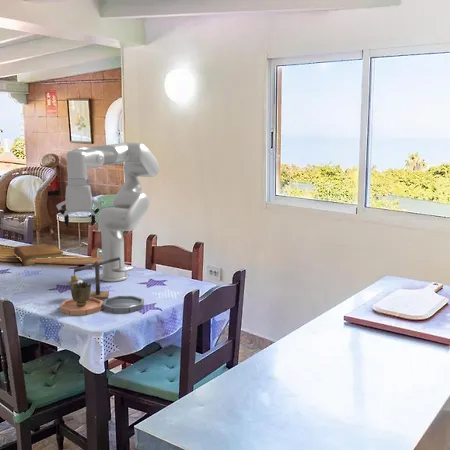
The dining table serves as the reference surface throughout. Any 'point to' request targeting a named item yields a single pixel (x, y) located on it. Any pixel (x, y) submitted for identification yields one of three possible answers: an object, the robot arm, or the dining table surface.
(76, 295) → the cup
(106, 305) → the dish slate
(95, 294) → the balance
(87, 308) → the dish terracotta
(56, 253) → the diary
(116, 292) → the dining table surface
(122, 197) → the robot arm
